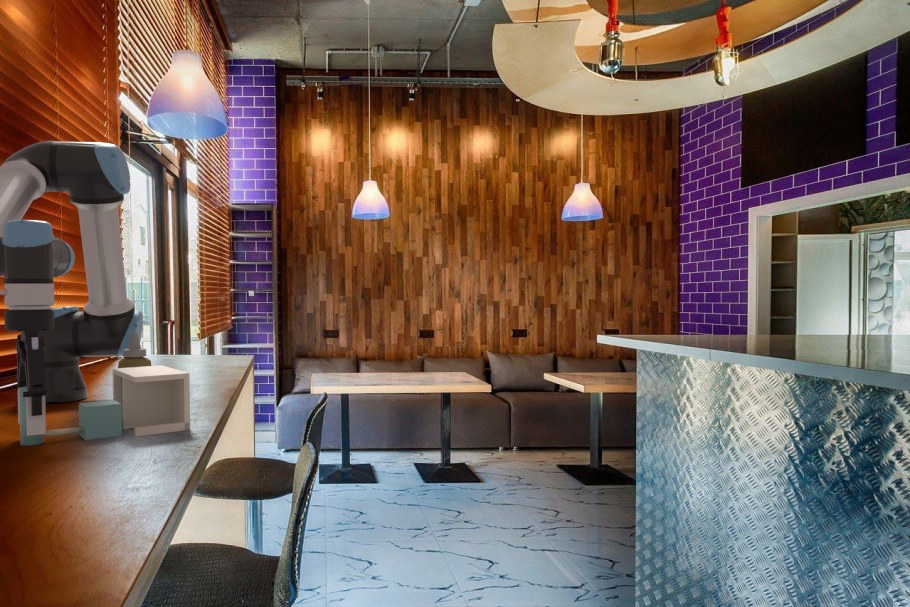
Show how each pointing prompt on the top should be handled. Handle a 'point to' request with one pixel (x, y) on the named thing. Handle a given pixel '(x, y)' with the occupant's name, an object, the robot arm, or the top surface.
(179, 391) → the cream cubby shelf
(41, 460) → the top surface
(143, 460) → the top surface
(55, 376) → the robot arm
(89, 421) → the teal block
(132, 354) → the squeeze bottle
